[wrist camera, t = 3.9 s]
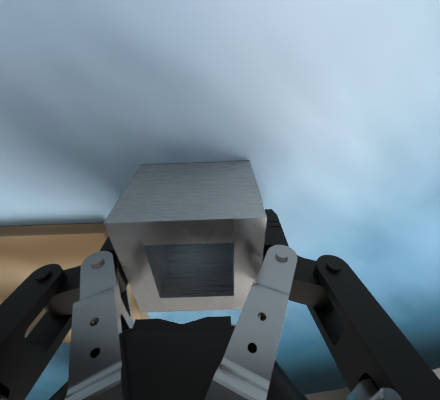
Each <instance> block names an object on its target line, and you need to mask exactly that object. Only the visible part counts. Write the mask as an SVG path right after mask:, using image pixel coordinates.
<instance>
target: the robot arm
mask: <svg viewBox="0 0 440 400" xmlns="http://www.w3.org/2000/svg"><path fill="white" fill-rule="evenodd" d="M262 203H263V202H262ZM265 212H266V216H267V222H266V232H265V241H264V250H263V259H262V266H261V269H260V272H259V274H258V277H257V279H256V282H253V284H252V286H251V288H250V291H249V293H248V296H247V298H246V301H245V303H244V306H243V308H242V311H241V314H240V316H239V319H238V321H237V324H236V325H234V324H231V316H225V317H206V318H202V319H199V320H196V321H192V322H189V323H185V324H178V323H174V322H170V321H166V320H162V319H135V322H133V317H132V311H131V305H130V299H129V293H128V289H127V285H128V280H127V278H126V276H125V273H124V271H123V269H122V266H121V264H120V261H119V259H118V257H117V254H116V252H115V250H114V247H113V245H112V243H111V240H110V238H109V236H108V237H107V239H106V241H105V242H104V244H103V246H102V248H101V249H100V251H99V252H96V253H93V254H91V255H90V256H88V257H87V258H86V259H85V260H84V261H83V262H82V264H81V265H80V266H77V267H73V268H70V269H66V270H63V269H62V268H61V266H60V265H58V264H48V265H45V266H42V267H40V268H38V269H37V270H35V271H34V272H33V273H31V274H30V275H29V276H28V277H27V278H26V279H25V280H24V281H23V282H22V283H21V284H20V285H19V286H18V287H17V288H16V289H15V290H14V291H13V292H12V293H11V294H10V295H9V296H8V297H7V298H6V299H5V300H4V301H3V302H2V304H1V305H0V400H25V398H26V397H27V395H28V394H29V392H30V391H31V389H32V387H33V386H34V384H35V383H36V381H37V380H38V378H39V377H40V375H41V374H42V372H43V371H44V369H45V368H46V366H47V365H48V363H49V362H50V360H51V358H52V357H53V355H54V354H55V352H56V351H57V349H58V348H59V346H60V345H61V343H62V342H63V340H64V339H65V337H66V336H67V334H68V332H69V331H70V329H71V344H70V361H69V377H68V381H67V382H66V383H65V384H64V385H63V386H62V387H61V388H60V389H59V390H58V391H57V392H56V393H55V394H54V395H53V396H52V397H51V398H50V399H49V400H308V399H307V398H306V396H305V395H304V394H303V393H302V392H301V390H300V389H299V388H298V387H297V386H296V384H295V383H294V382H293V381H292V380H291V378H290V377H289V376H288V375H287V374H286V372H285V371H284V370H283V369H282V368H281V366H280V365H279V364H278V363H277V362H276V360H275V358H276V353H277V349H278V344H279V340H280V335H281V331H282V326H283V322H284V317H285V313H286V309H287V304H288V300H291V301H294V302H298V303H301V304H305V305H307V307H308V309H309V311H310V313H311V315H312V317H313V319H314V321H315V323H316V325H317V327H318V329H319V331H320V333H321V335H322V337H323V338H324V340H325V342H326V344H327V346H328V348H329V350H330V352H331V354H332V356H333V358H334V360H335V362H336V364H337V366H338V368H339V370H340V372H341V374H342V376H343V378H344V380H345V382H346V384H347V386H348V388H349V390H350V392H351V393H350V394H349V395H348V396H347V399H346V400H440V380H439V378H438V377H437V376H436V375H435V373H434V372H433V371H432V370H431V368H430V367H429V366H428V365H427V363H426V362H425V361H424V360H423V358H422V357H421V356H420V355H419V353H418V352H417V351H416V349H415V348H414V347H413V346H412V344H411V343H410V342H409V341H408V339H407V338H406V337H405V336H404V334H403V333H402V332H401V331H400V329H399V328H398V327H397V326H396V324H395V323H394V322H393V321H392V319H391V318H390V317H389V316H388V314H387V313H386V312H385V311H384V309H383V308H382V307H381V306H380V304H379V303H378V302H377V301H376V299H375V298H374V297H373V296H372V294H371V293H370V292H369V290H368V289H367V288H366V287H365V285H364V284H363V283H362V282H361V280H360V279H359V278H358V277H357V275H356V274H355V273H354V272H353V270H352V269H351V268H350V267H349V265H348V264H347V263H346V262H345V261H343V260H342V259H340V258H338V257H336V256H332V255H323V256H321V257H319V258H318V259H317V261H314V260H310V259H305V258H302V257H299V256H298V255H297V254H296V253H295V251H294V250H293V249H291V248H290V247H289V246H288V243H287V241H286V238H285V235H284V232H283V230H282V227H281V224H280V222H279V219H278V216H277V214H276V213H275V212H274V211H273V210H272V209H265ZM43 309H45V310H46V313H45V314H44V315H43V317H42V318H41V319H40V320H39V322H38V323H37V324H36V325H35V327H34V328H33V329H32V330H31V332H30V333H29V334H28V335H27V337H26V338H25V333H26V331H27V329H28V327H29V326H30V325H31V324H32V322H33V321H34V320H35V319H36V317H37V316H38V315H39V314H40V312H41V311H42V310H43Z"/></svg>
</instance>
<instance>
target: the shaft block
mask: <svg viewBox="0 0 440 400" xmlns="http://www.w3.org/2000/svg"><path fill="white" fill-rule="evenodd" d="M107 237H108V233H107V231H106V229H105V226H104V224H103V223H85V224H57V225H30V226H2V227H0V305H1V304H2V302H3V301H4V300H5V299H6V298H7V297H8V296H9V295H10V294H11V293H12V292H13V291H14V290H15V289H16V288H17V287H18V286H19V285H20V284H21V283H22V282H23V281H24V280H25V279H26V278H27V277H28V276H29V275H30V274H31V273H33V272H34V271H35V270H37V269H38V268H40V267H42V266H45V265H48V264H58V265H60V266H61V268H62V269H63V270H66V269H70V268H73V267H77V266H80V265H81V264H82V262H83V261H84V260H85V259H86V258H87V257H88V256H90V255H91V254H93V253H96V252H99V251H100V249H101V248H102V246H103V244H104V242H105V241H106V239H107ZM127 289H128V293H129V299H130V305H131V311H132V317H133V322H135V319H149V318H148V315H147V313H146V312H141V311H140V308H139V306H138V304H137V301H136V299H135V297H134V294H133V292H132V290H131V287H130V285H129V283H128V285H127ZM45 313H46V310H45V309H43V310H42V311H41V312H40V314H39V315H38V316H37V317H36V319H35V320H34V321H33V322H32V324H31V325H30V326H29V327H28V329H27V331H26V333H25V338H26V337H27V335H28V334H29V333H30V332H31V330H32V329H33V328H34V327H35V325H36V324H37V323H38V322H39V320H40V319H41V318H42V317H43V315H44V314H45ZM62 343H71V329H70V331H69V332H68V334H67V336H66V337H65V339H64V340H63V342H62Z"/></svg>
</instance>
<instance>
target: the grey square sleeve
mask: <svg viewBox="0 0 440 400" xmlns="http://www.w3.org/2000/svg"><path fill="white" fill-rule="evenodd" d="M266 222H267V216H266V212H265V209H264V206H263V203H262V199H261V196H260V193H259V189H258V186H257V183H256V179H255V176H254V173H253V169H252V166H251V163H250V161H231V162H204V163H176V164H149V165H141V166H140V168H139V169H138V171H137V172H136V174H135V175H134V177H133V178H132V180H131V181H130V183H129V184H128V186H127V188H126V189H125V191H124V192H123V194H122V195H121V197H120V198H119V200H118V201H117V203H116V204H115V206H114V207H113V209H112V211H111V212H110V214H109V215H108V217H107V218H106V220H105V221H104V223H103V224H104V226H105V229H106V231H107V233H108V236H109V238H110V240H111V243H112V245H113V247H114V250H115V252H116V254H117V257H118V259H119V261H120V264H121V266H122V269H123V271H124V273H125V276H126V278H127V280H128V283H129V285H130V287H131V290H132V292H133V294H134V297H135V299H136V301H137V304H138V306H139V308H140V311H141V312H170V311H201V310H233V309H242V308H243V306H244V303H245V301H246V298H247V296H248V293H249V291H250V288H251V286H252V284H253V282H256V279H257V277H258V274H259V272H260V269H261V266H262V259H263V250H264V241H265V232H266Z"/></svg>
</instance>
